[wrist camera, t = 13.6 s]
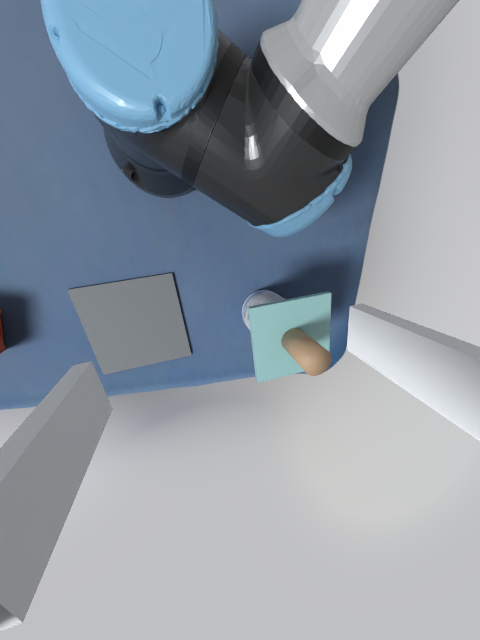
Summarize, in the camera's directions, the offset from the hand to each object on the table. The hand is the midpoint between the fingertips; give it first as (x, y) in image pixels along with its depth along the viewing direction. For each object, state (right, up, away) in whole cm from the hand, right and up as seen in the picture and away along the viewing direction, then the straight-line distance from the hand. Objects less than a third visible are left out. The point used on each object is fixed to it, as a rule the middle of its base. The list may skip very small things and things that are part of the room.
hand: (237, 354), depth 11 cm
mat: (-20, +1, +33) cm, 38 cm away
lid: (+8, -1, +24) cm, 26 cm away
